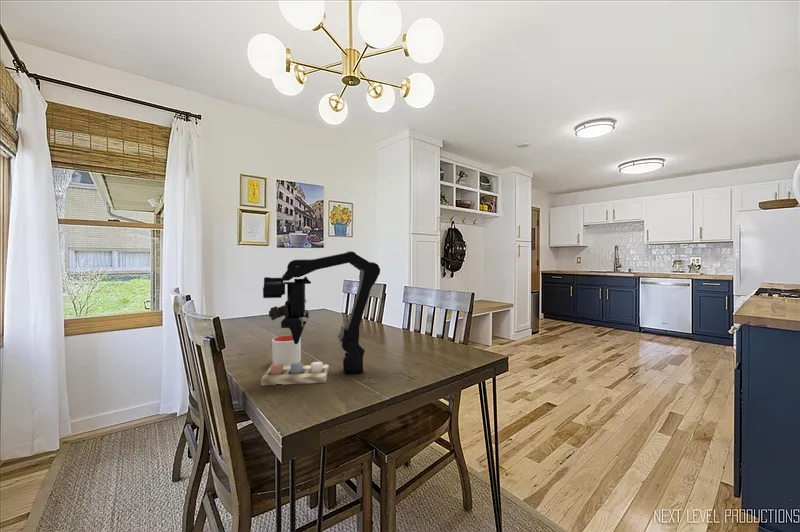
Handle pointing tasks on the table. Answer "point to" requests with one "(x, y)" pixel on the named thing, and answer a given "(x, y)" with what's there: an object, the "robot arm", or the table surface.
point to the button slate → (297, 368)
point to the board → (295, 376)
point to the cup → (286, 350)
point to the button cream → (317, 367)
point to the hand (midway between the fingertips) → (296, 343)
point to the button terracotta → (276, 369)
